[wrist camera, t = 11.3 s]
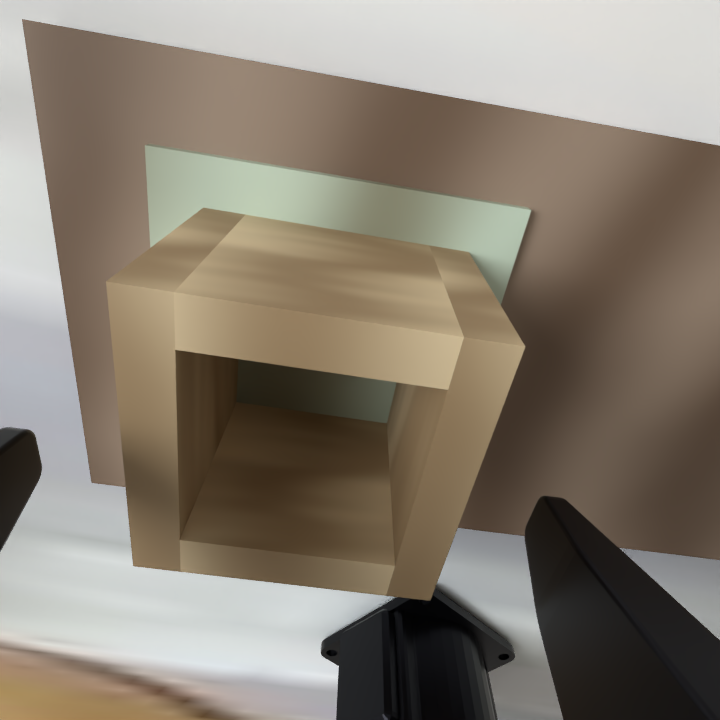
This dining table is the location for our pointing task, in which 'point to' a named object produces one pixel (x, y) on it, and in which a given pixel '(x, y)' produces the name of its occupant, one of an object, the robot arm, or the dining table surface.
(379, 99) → the board
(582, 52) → the dining table surface
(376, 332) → the collar
